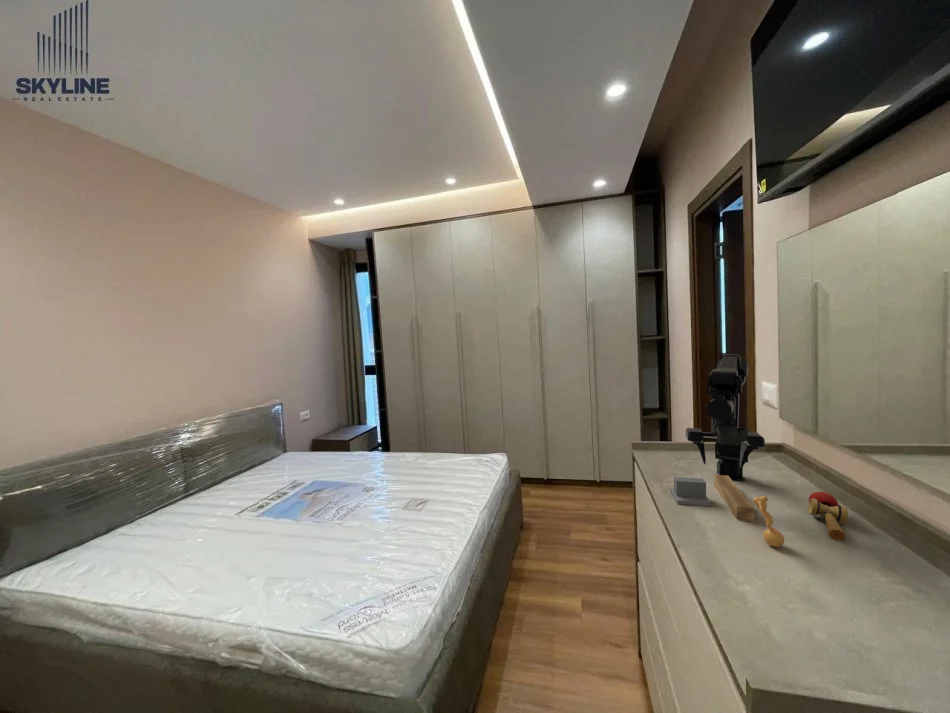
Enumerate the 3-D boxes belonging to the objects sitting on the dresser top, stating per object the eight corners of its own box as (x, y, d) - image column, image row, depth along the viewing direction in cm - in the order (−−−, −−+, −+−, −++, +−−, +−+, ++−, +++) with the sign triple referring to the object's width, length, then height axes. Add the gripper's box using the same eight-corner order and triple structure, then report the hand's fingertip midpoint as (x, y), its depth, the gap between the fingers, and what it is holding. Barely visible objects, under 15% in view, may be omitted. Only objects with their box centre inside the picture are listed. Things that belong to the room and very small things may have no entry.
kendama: (863, 551, 87) (842, 507, 101) (858, 526, 86) (838, 486, 101) (819, 546, 91) (805, 505, 106) (814, 523, 91) (801, 485, 105)
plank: (728, 487, 119) (728, 475, 119) (753, 522, 99) (754, 508, 98) (713, 486, 120) (714, 474, 120) (736, 520, 100) (736, 506, 100)
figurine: (787, 557, 83) (788, 507, 82) (754, 549, 87) (755, 501, 86) (781, 538, 90) (782, 492, 89) (750, 532, 94) (751, 487, 93)
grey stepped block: (701, 493, 115) (701, 475, 114) (711, 506, 107) (711, 486, 107) (669, 491, 117) (669, 473, 117) (677, 503, 109) (677, 484, 109)
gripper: (690, 417, 103) (690, 471, 104) (772, 422, 96) (771, 479, 97) (685, 409, 114) (685, 458, 114) (758, 413, 106) (757, 465, 107)
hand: (722, 465), depth 108 cm, fingers open, 9 cm apart
